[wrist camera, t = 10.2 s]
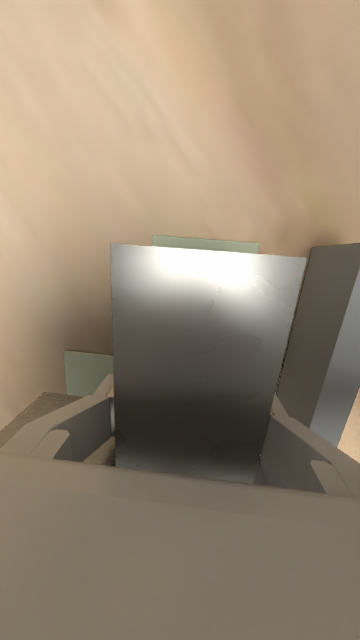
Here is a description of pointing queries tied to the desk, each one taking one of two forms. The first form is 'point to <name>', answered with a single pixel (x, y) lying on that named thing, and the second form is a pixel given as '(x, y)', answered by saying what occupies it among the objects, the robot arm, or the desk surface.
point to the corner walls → (322, 349)
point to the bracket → (191, 359)
